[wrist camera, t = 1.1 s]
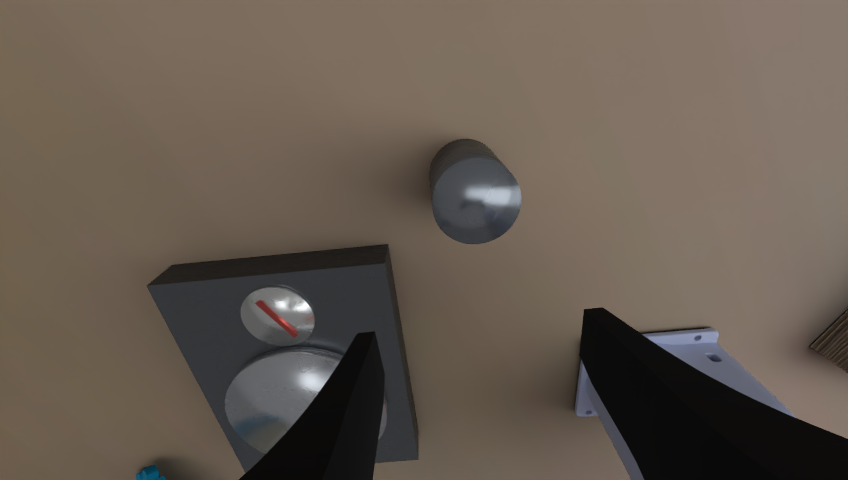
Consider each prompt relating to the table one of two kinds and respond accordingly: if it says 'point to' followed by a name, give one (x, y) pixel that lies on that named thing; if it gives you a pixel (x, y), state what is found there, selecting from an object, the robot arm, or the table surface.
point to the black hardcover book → (835, 343)
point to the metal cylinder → (472, 192)
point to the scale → (287, 339)
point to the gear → (149, 474)
